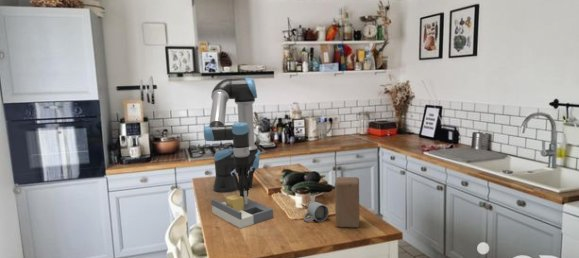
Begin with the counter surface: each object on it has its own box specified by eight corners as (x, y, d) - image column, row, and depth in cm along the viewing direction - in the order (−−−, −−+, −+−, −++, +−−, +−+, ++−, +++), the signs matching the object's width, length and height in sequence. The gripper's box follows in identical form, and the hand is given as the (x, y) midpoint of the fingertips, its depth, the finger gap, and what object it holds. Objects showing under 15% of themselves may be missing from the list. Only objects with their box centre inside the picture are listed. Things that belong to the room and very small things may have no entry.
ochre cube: (237, 206, 185) (236, 194, 184) (244, 209, 181) (243, 197, 180) (226, 209, 182) (225, 197, 181) (233, 212, 177) (232, 200, 176)
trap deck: (243, 204, 200) (242, 191, 199) (273, 217, 180) (272, 203, 179) (212, 213, 189) (211, 199, 188) (240, 228, 169) (239, 213, 168)
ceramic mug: (320, 214, 182) (319, 198, 181) (329, 219, 175) (328, 203, 173) (300, 219, 177) (299, 203, 176) (309, 225, 170) (308, 208, 169)
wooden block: (359, 228, 164) (358, 183, 161) (335, 227, 166) (334, 182, 163) (359, 219, 173) (359, 176, 170) (337, 218, 175) (336, 176, 172)
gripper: (233, 159, 174) (237, 208, 178) (257, 154, 182) (260, 202, 186) (225, 156, 180) (228, 204, 184) (249, 152, 188) (251, 198, 192)
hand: (244, 203), depth 185 cm, fingers closed
